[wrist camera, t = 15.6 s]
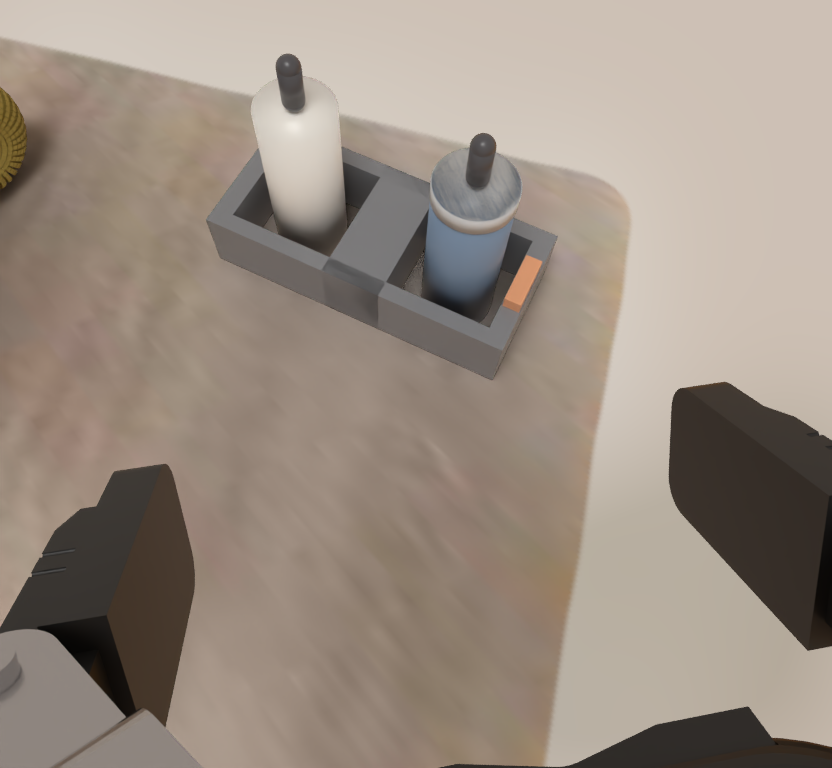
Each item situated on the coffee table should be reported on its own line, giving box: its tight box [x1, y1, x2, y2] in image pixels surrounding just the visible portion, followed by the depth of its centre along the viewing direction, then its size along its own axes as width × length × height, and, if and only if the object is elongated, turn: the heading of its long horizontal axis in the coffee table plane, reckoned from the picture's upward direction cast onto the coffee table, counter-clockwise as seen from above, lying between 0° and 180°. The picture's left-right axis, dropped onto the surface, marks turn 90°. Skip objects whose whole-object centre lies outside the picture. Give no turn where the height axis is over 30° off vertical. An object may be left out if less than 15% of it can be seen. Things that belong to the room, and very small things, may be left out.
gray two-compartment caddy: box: [206, 54, 558, 380], centre depth 40 cm, size 19×8×14 cm, turn 64°
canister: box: [421, 133, 522, 323], centre depth 39 cm, size 4×4×14 cm
